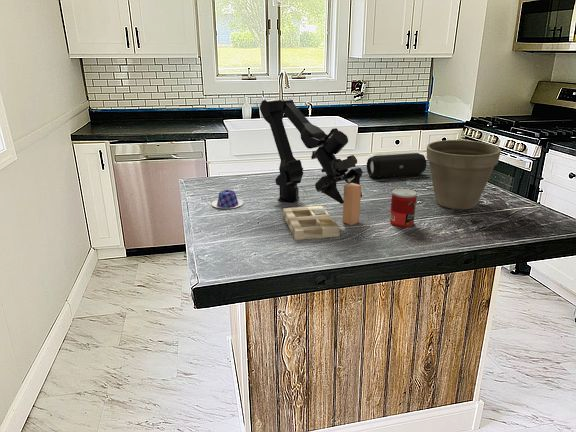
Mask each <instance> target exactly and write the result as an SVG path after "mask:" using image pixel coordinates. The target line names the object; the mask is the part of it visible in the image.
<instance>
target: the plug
mask: <svg viewBox="0 0 576 432" xmlns="http://www.w3.org/2000/svg"><path fill="white" fill-rule="evenodd" d="M361 192H362V185H361V184H360V185H358V184H355V183H349V184H348V183H347V184H344V185H343V196H342V199H343V201H344V203H343V204H342V220H341V221H342V223H345V224H348V225H350V226H354V225H355V224H358V223H360V216H361V215H360V214H361V198H362V197H361Z"/></svg>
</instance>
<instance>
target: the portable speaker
mask: <svg viewBox="0 0 576 432" xmlns="http://www.w3.org/2000/svg"><path fill="white" fill-rule="evenodd" d="M426 169H427V157H426V156H425V155H424V154H423V153H419V152H407V153H394V154H393V153H392V154H376V155H373V156H371V157H369V158H368V159H367V162H366V170H367V171H366V172H367V174H368V176H370V177H372V178H376V179H377V178H378V179H379V178H390V177H392V178H393V177H405V176H406V177H407V176H417V175H420V174H422V173H424V172H425V171H426Z"/></svg>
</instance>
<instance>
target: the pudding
mask: <svg viewBox="0 0 576 432" xmlns="http://www.w3.org/2000/svg"><path fill="white" fill-rule="evenodd" d="M236 194H237V193H236V192H235V191H234V189H231V190H230V189H223V190H221V191H219V193H218V199H216V200H215V199H214V201H212V202H211V206H212V207H215V208H217V209H226V210H227V209H235V208H238V207H242V206H243V205H244V202H245V201H244V200H243V199H241V198H238V197H237V195H236Z"/></svg>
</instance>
